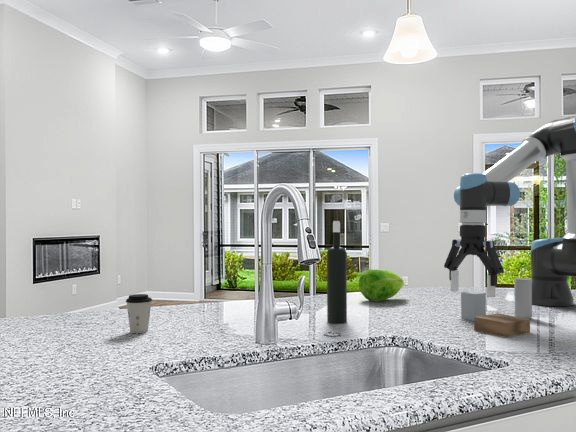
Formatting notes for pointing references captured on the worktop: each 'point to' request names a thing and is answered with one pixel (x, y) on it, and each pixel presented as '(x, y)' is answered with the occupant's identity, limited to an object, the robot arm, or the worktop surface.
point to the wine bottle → (336, 280)
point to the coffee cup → (138, 312)
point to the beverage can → (523, 297)
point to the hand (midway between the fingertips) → (472, 294)
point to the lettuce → (379, 284)
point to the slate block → (473, 304)
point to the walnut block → (502, 325)
